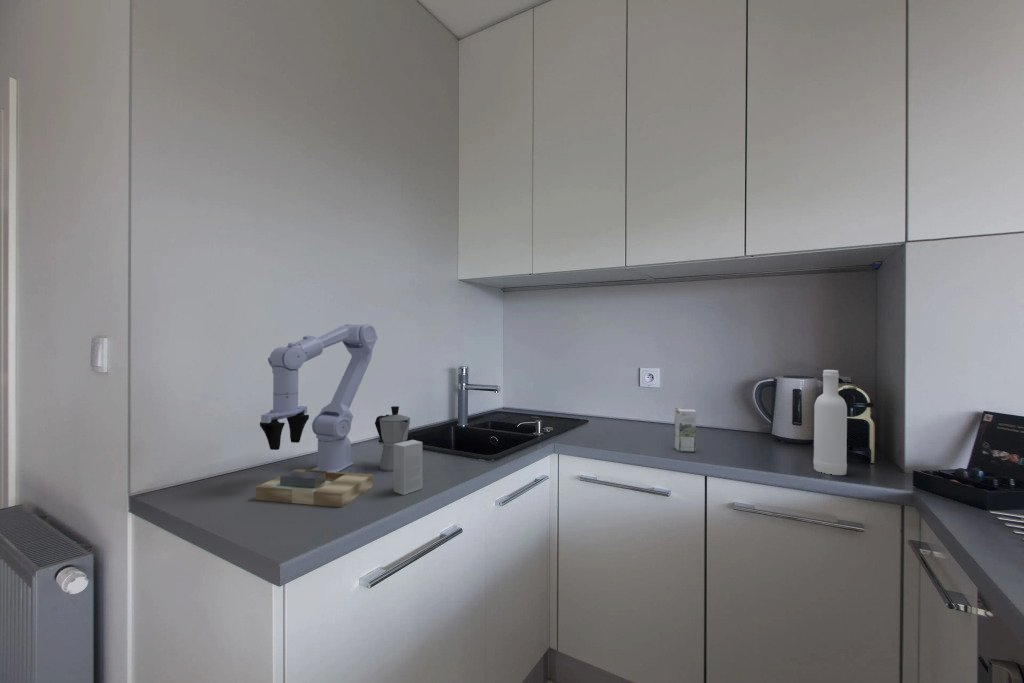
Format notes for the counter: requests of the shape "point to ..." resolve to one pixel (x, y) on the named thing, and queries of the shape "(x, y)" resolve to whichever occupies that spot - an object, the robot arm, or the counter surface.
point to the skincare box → (408, 466)
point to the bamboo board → (318, 489)
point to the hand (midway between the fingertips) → (285, 445)
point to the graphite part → (302, 479)
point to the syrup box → (685, 430)
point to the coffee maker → (391, 435)
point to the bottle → (830, 428)
